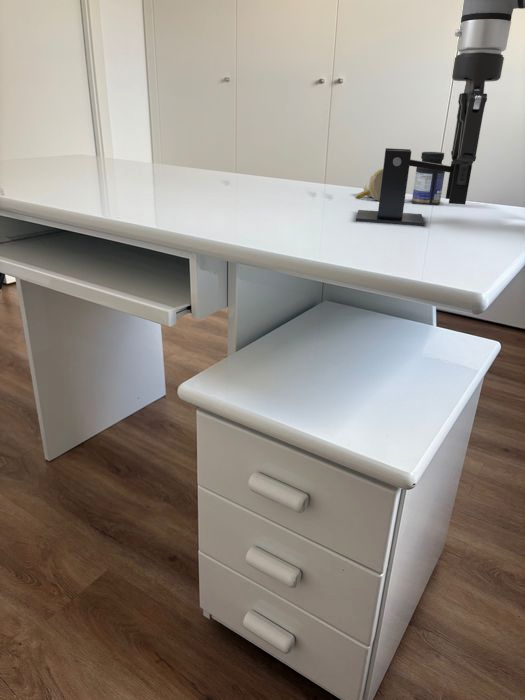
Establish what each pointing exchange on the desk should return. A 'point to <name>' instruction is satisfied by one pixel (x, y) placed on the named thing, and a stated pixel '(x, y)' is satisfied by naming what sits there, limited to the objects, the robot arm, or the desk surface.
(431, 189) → the pill bottle
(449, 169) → the lever
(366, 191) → the tan rounded piece
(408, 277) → the desk surface
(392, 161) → the bracket
